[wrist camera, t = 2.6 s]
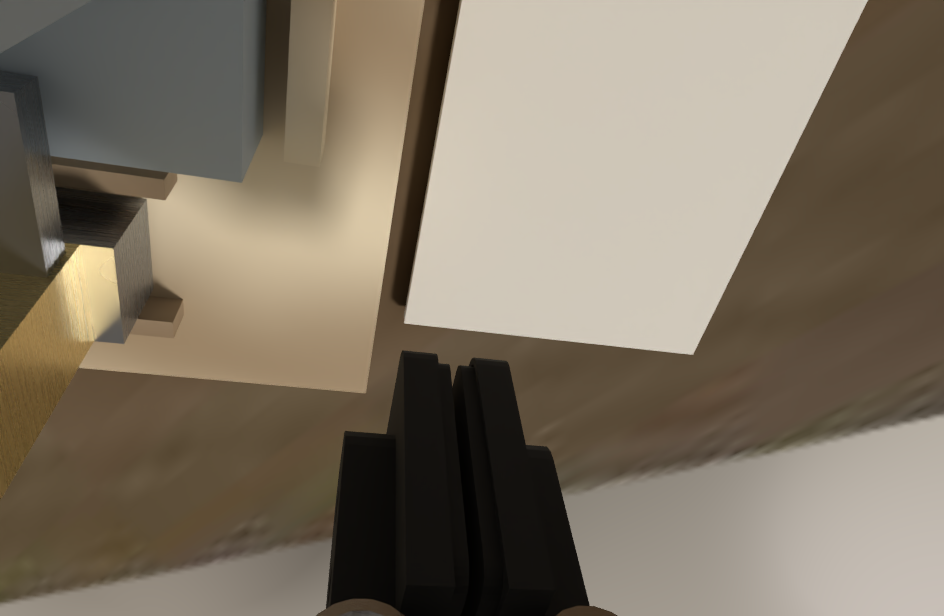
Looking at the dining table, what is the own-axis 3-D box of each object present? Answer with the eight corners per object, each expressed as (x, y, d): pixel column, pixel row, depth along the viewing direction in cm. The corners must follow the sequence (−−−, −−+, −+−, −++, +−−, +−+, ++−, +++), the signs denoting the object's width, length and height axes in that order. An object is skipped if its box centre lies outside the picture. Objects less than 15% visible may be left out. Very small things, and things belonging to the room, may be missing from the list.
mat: (481, -125, 14) (483, -124, 13) (872, -33, 15) (882, -31, 15) (403, 315, 20) (404, 323, 19) (688, 346, 21) (692, 354, 21)
